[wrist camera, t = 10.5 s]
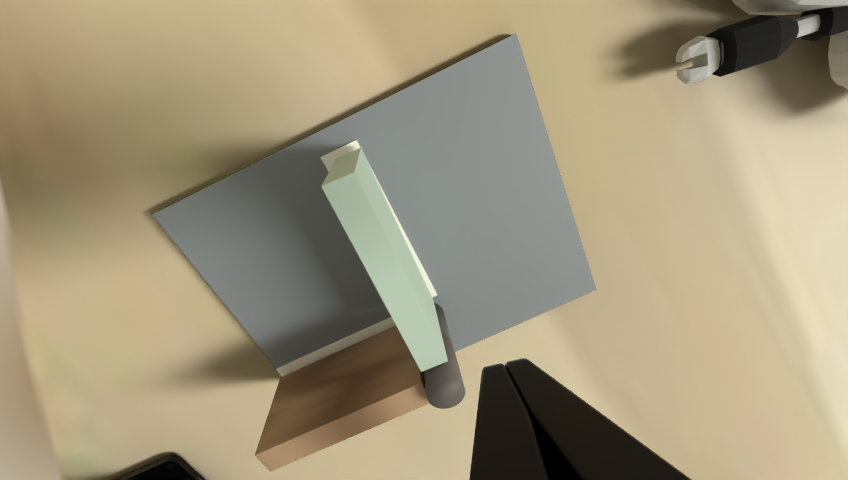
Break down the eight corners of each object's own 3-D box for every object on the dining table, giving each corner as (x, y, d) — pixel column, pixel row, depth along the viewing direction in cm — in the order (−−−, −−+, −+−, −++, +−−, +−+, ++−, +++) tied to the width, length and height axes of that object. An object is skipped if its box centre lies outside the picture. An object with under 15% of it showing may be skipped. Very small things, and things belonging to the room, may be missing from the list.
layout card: (314, 407, 24) (313, 415, 23) (157, 211, 18) (150, 215, 18) (591, 285, 22) (597, 290, 22) (512, 34, 17) (517, 33, 16)
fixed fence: (296, 387, 22) (270, 485, 17) (280, 368, 22) (248, 462, 16) (448, 319, 22) (470, 399, 16) (436, 297, 21) (456, 372, 16)
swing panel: (433, 300, 20) (448, 361, 16) (412, 308, 21) (421, 371, 16) (361, 147, 17) (354, 171, 13) (336, 158, 17) (321, 186, 13)
